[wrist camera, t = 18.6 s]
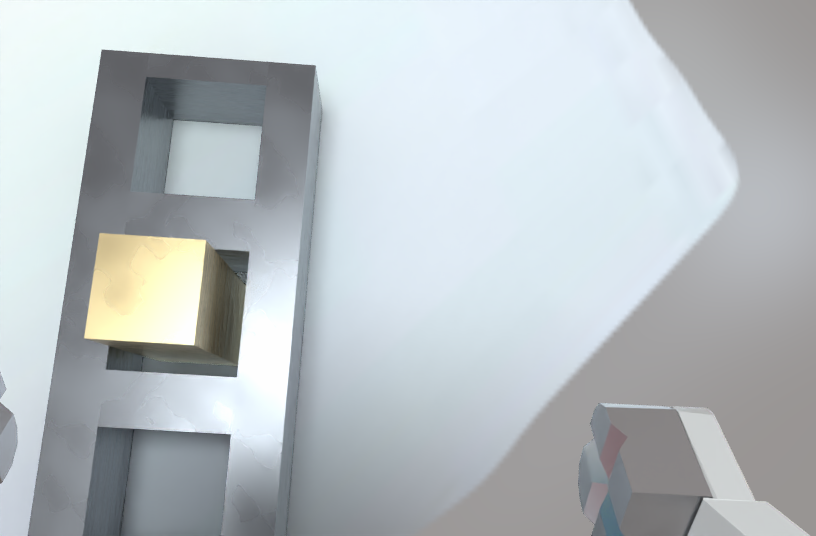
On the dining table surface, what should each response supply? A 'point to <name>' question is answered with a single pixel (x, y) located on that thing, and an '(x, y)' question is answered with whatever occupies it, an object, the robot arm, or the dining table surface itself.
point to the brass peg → (165, 300)
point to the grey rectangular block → (236, 244)
